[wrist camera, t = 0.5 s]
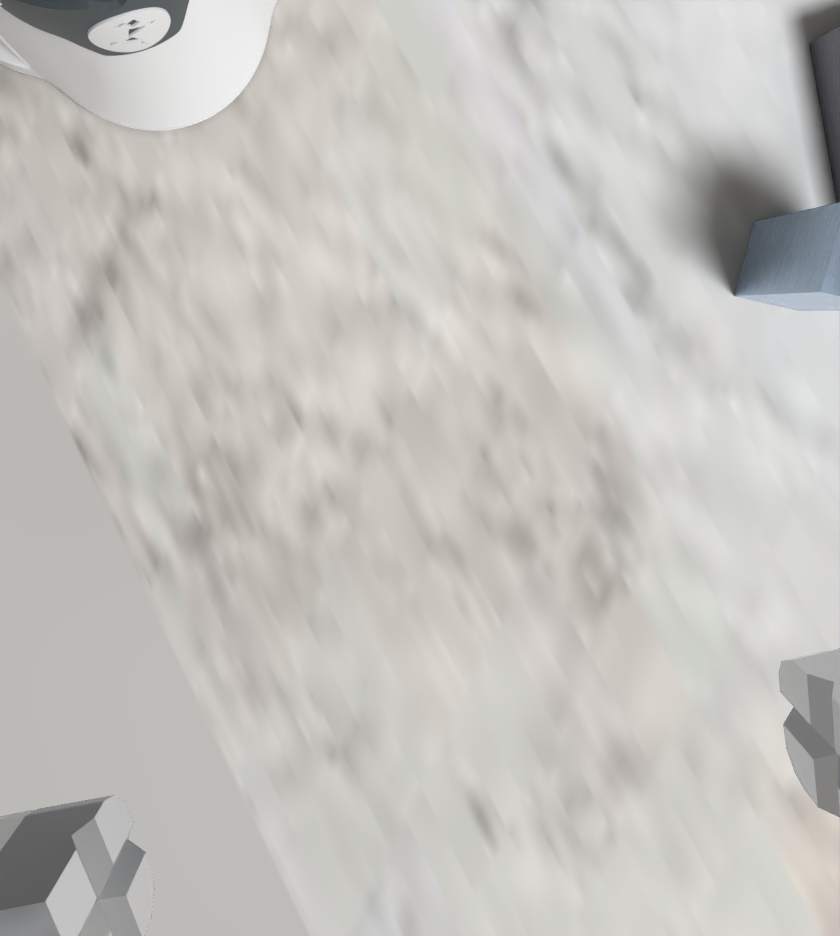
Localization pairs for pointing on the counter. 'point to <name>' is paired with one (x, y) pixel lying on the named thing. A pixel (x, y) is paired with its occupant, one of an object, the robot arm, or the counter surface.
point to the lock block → (794, 261)
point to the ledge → (829, 94)
